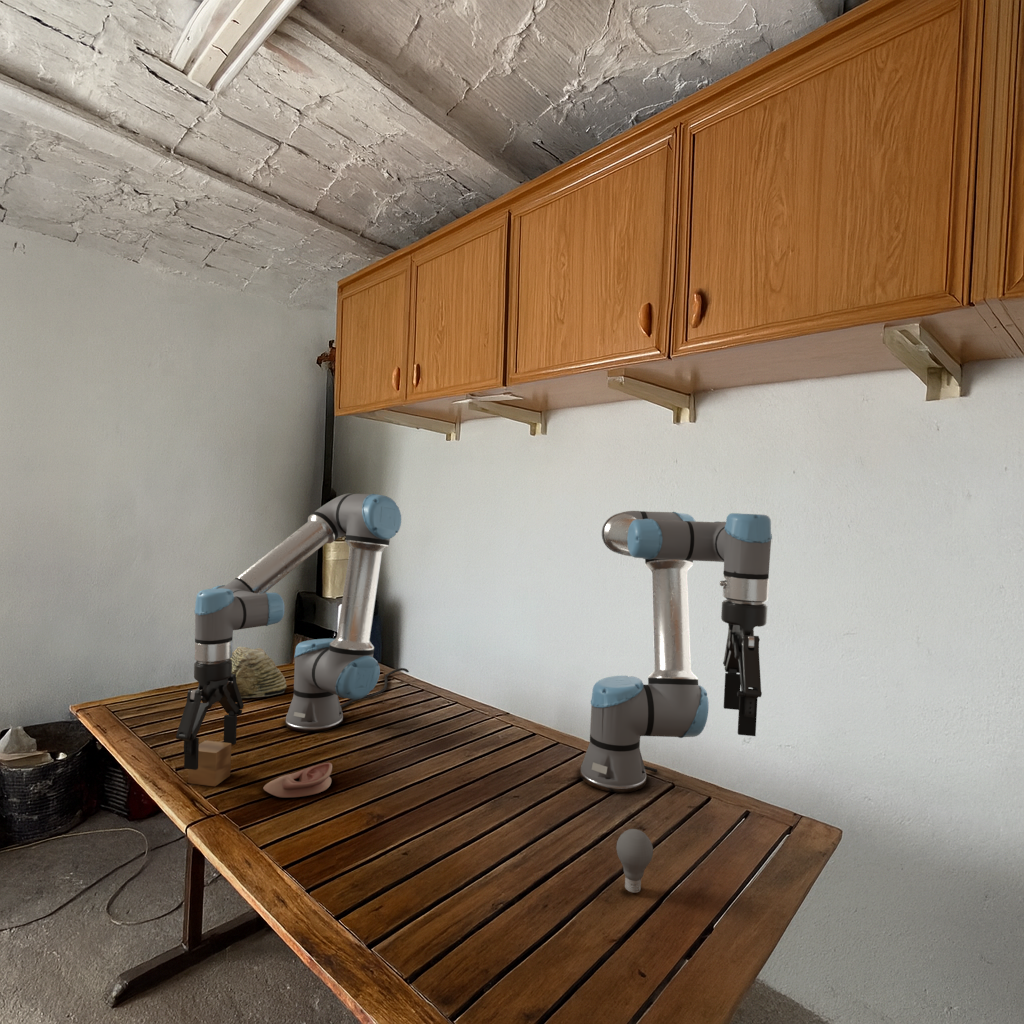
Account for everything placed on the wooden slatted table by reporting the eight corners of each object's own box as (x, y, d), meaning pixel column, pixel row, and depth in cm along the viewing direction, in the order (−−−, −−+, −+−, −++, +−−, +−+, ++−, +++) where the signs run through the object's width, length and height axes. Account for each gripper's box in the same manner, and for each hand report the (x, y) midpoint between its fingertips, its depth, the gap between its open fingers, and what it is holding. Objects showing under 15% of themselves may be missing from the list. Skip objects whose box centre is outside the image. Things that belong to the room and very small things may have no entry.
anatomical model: (255, 775, 133) (285, 754, 145) (254, 793, 133) (285, 771, 145) (313, 783, 131) (339, 761, 142) (312, 802, 131) (338, 779, 142)
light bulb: (610, 879, 108) (613, 822, 108) (644, 879, 109) (647, 822, 109) (619, 902, 102) (622, 840, 102) (655, 901, 103) (658, 840, 103)
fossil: (218, 695, 195) (220, 647, 195) (278, 685, 208) (279, 640, 207) (228, 703, 189) (230, 653, 188) (289, 692, 201) (290, 645, 201)
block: (204, 772, 143) (205, 740, 143) (230, 775, 142) (231, 743, 142) (187, 783, 137) (189, 749, 137) (214, 786, 136) (216, 752, 136)
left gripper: (231, 645, 152) (229, 732, 153) (157, 674, 127) (155, 778, 128) (260, 647, 151) (258, 735, 151) (191, 677, 126) (189, 782, 127)
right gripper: (711, 590, 124) (706, 697, 125) (735, 611, 100) (729, 745, 100) (751, 592, 123) (746, 701, 123) (786, 614, 98) (779, 750, 99)
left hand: (211, 755), depth 140 cm, fingers open, 13 cm apart
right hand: (738, 721), depth 112 cm, fingers open, 13 cm apart
